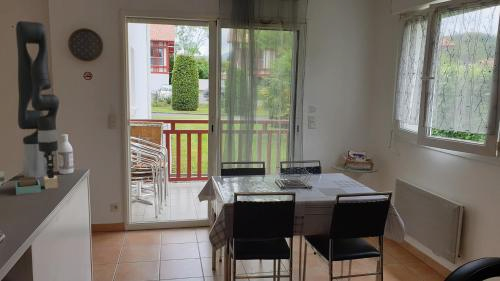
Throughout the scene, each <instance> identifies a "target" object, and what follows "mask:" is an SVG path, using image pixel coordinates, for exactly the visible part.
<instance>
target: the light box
mask: <svg viewBox="0 0 500 281" xmlns="http://www.w3.org/2000/svg"><path fill="white" fill-rule="evenodd" d="M43 181H44V182H43V183H44V190H47V189H48V190H49V189H57V188H59V186H58V185H59V181H58V176H57V175H54V178H48V176H46V177H44V178H43Z"/></svg>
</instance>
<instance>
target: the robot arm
mask: <svg viewBox="0 0 500 281" xmlns="http://www.w3.org/2000/svg"><path fill="white" fill-rule="evenodd" d="M15 34H16V35H15V36H16V37H15V38H16V45H17V46H16V48H17V49H16V50H17V86H18V88H17V89H18V108H17V109H18V110H17V124H18V127H19V128H20V129H21V130H35V131H34V132H33V133H31V134H29V135H26V136H24V137H23V138H22V144H23V159H22V165H23V174H24V175H23V176H24V177H34V176H35V179H44V177H48V178H54V176H55V175H54V169H55V154H54V153H53V152H55V151H58V148H59V145H58V132H57V123H56V120H57V115H58V110H59V107H60V100H59V98H58V96H57V95H56V94H49V93H48V94H45V93H44V94H42V91H43V92H44V91H46V90H50V89H51V87H52V82H51V76H50V71H49V62H48V60H49V59H48V41H47V40H48V38H47V31H46V26H45V25H44V24H43V23H42V22H36V21H22V20H20V21H17V22H16V26H15ZM27 44H30V45H31V44H32V45H33V44H34V45H35V44H36V45H38V53H37V55H36V56H35V59H34V58H32V56H31V55H30V53H29V51H28V48H27ZM30 102H31V103H30ZM29 104H31V107H32V108H33V109H28V107H29ZM44 111H45V112H47V111H48V112H47V114H45V115H44ZM24 177H23V178H24Z"/></svg>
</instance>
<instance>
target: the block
mask: <svg viewBox="0 0 500 281" xmlns="http://www.w3.org/2000/svg"><path fill="white" fill-rule="evenodd" d="M18 180H19V182H20V187H26V186H36V180H37V178H35V176H34V177H19V179H18Z"/></svg>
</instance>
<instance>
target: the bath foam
mask: <svg viewBox="0 0 500 281" xmlns="http://www.w3.org/2000/svg"><path fill="white" fill-rule="evenodd" d="M68 135H69V134H65V133H64V134H61V142H60V144H59V145H58V150H57V159H58V161H57V163H58V172H59V174H61V175H69V174H73V173H74V171H75V169H74V167H75V166H74V150H73V146H72V145H71V143H70V142H69V138H68V137H69V136H68Z"/></svg>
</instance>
